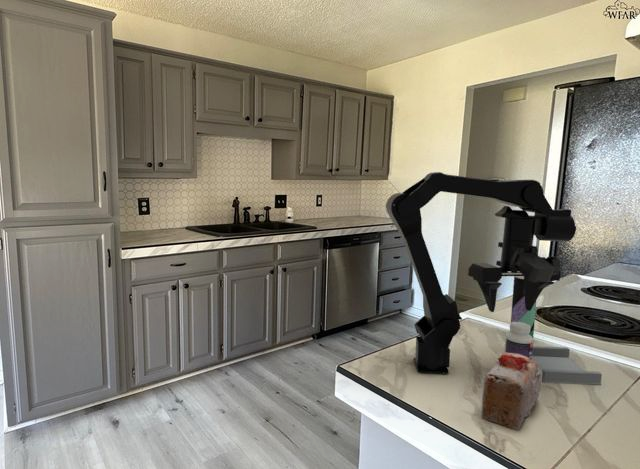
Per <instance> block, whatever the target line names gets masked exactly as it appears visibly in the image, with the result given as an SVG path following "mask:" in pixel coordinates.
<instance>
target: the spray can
mask: <svg viewBox="0 0 640 469" xmlns="http://www.w3.org/2000/svg"><path fill="white" fill-rule="evenodd" d="M518 272H519V271H518ZM512 286H513V287H512V288H513V289H512V301H511V314H510V315H511V316H510V323H511V322H522V323H526V324H528V325H530V327H531V328H530V333H529V335H531V336H532V338H533V339H534V332H535V320H536V311H537V310H536V308H537V301H536V302H535V304H534V305H533V307H532V309H531V311H528V310H526V307H525V293H524V276H513V285H512ZM509 331H511V330H510V329H509Z"/></svg>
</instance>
